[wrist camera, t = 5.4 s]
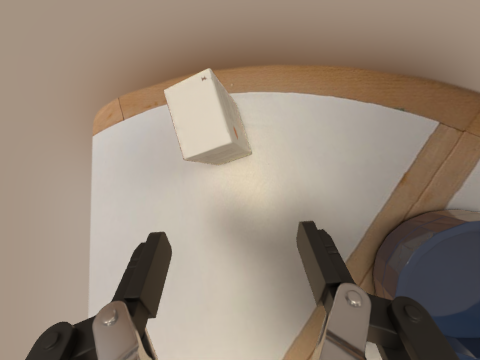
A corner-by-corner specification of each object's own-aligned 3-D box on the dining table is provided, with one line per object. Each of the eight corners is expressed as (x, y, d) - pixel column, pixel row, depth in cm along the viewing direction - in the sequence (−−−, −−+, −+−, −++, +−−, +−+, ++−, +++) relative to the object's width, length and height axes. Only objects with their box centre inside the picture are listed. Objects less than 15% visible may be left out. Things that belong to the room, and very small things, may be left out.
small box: (204, 117, 31) (161, 87, 21) (237, 103, 29) (209, 64, 19) (218, 166, 30) (181, 161, 20) (252, 154, 29) (232, 142, 19)
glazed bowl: (491, 184, 22) (562, 187, 16) (583, 326, 21) (699, 385, 15) (346, 241, 26) (363, 260, 20) (414, 366, 24) (453, 425, 18)
